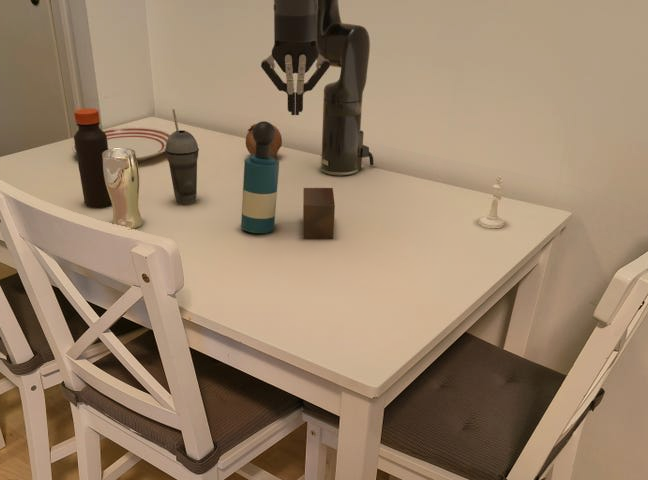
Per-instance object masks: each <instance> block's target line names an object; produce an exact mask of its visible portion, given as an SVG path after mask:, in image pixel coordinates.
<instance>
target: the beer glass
mask: <svg viewBox="0 0 648 480" xmlns="http://www.w3.org/2000/svg"><path fill="white" fill-rule="evenodd" d="M102 162H103V174H104V180H105V184H106V188H107V191H108V194H109V197H110V200H111V203H112V205H111V207H112V225H113V224H117V225H121V226H125V227H129V228H132V229H131V230H134V229H137V228H139V227H141V226H142V225H143V219H142V216H141V215H142V214H141V212H140V208H139V197H140V196H139V195H140V170H139V164H138V162H137V159H136V153H135V150H133V149H129V148H113V149H109V150H106V151H104V152H103V153H102Z"/></svg>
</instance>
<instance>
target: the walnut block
mask: <svg viewBox="0 0 648 480" xmlns="http://www.w3.org/2000/svg"><path fill="white" fill-rule="evenodd" d="M302 191H303V192H302V193H303V194H302V195H303V196H302V197H303V200H302V236H303V237H302V239H304V240H333V239H334V236H335V235H334V233H335V232H334V231H335V210H336V204H335V203H336V202H335V196H334V188H333V187H303V190H302Z"/></svg>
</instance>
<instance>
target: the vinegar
mask: <svg viewBox="0 0 648 480" xmlns="http://www.w3.org/2000/svg"><path fill="white" fill-rule="evenodd" d="M73 113H74V119H75V124H76V126H77V127H78V130H77V131H76V132H75V134H74V136H73V143H74V142H75V148H76V153H75V154H76V158H77V165H78V172H79V177H80V183H81V189H82V195H83V201H84V204H85V206H86V207H88V208H93V209H103V208H107V207H110V206H112V203H111V200H110V197H109V194H108V191H107V188H106V184H105V180H104V174H103V162H102V153H103V152H104V151H106V150H108V143H107V136H106V134H105V132H103V131H102V130H103V129H101V127H100V124H101V119H100V113H99V109H96V108H92V107H91V108H80V109H77V110H74V112H73Z"/></svg>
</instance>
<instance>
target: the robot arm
mask: <svg viewBox="0 0 648 480" xmlns="http://www.w3.org/2000/svg"><path fill="white" fill-rule="evenodd" d="M273 19H274V20H273V27H274V28H273V35H274V36H273V39H274V43H273V47H272V49H271V54H270V55H269V56H267V57H266V58H265V59H262V61H261V63H260V67H261V69H262V70H263V72H264V73H265V74H266V76H267V77H268V78H269V79H270V81H271V83H273V85H274V86H275V87H276V89H277V90H278V91H280V92H285V93H286V95H287V111H288V113H291V114H290V115H291V116H300V113H302V112H303V110H304V94H305V93H306V92H310V91H312V90H313V89H314V88H315V86H316V85H317V84H318V83H319V81H320V80H321V79H322V77H324V75H325V74H326V72H327V71H328V70H329V68H330V67H333V68H339V69H340V72H339V73H340V74H339V79H337V81H334V82H329V83H327V84H325V86H324V88H323V102H322V130H321V131H322V132H321V133H322V135H321V159H320V171H321V172H322V173H324V174H326V175H330V176H339V177H340V176H341V177H342V176H344V177H345V176H350V175H354V174H357V173H358V172H360V171H362V163H363V158H369V165H370V166H374V165H375V163H374V156H373V154H372V152H370V147H369V146H367V145H364V131H363V130H361V129H362V128H361V125H362V109H363V96H364V90H365V88H366V86H367V85H366V84H367V78H368V71H369V70H368V69H369V61H370V53H371V40H370V35H369V32H368V30H367V29H366V27H364V26H363V25H360V24H359V25H358V24H352V23H343V22H342V19H341V15H340V5H339V0H273ZM315 62H316V63H315ZM314 63H315V68H316V70H315V71H314V72H313V74H312V75H311V76H310V78H309V79H308V80H307V81H306V82H305V76H306V75H305V74H306V73H308V72H309V71H310V69H311V68H312V66H313V65H314ZM276 64H277V65H278V67H279V68H280V70H281V71H282V72H283V73H284V74H285V80H286V81H285V82H284V80H283V79H282V78H281V76H280V75H279V74H278V73H277V71H276V70H275V68H276ZM294 74H297V76H296V77H297V78H296V92H295V84H294Z"/></svg>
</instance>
